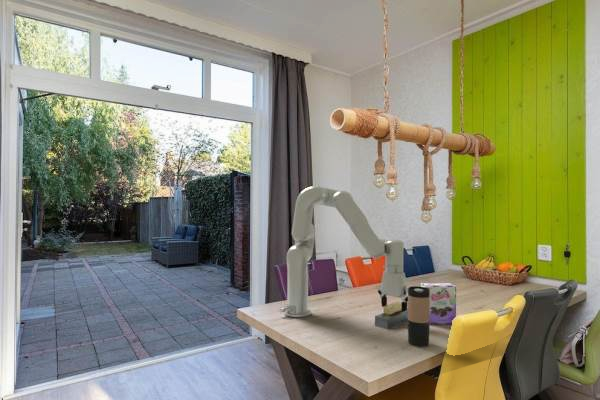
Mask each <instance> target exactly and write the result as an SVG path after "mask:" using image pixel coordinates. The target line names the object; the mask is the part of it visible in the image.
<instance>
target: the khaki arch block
mask: <svg viewBox="0 0 600 400" xmlns="http://www.w3.org/2000/svg"><path fill="white" fill-rule="evenodd" d="M394 312H398V313H401V312H402V301H395V302H392V303H389V304H387V305H386V306H384V307H383V313H385V315H387V316H394Z"/></svg>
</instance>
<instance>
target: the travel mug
mask: <svg viewBox="0 0 600 400" xmlns="http://www.w3.org/2000/svg"><path fill="white" fill-rule="evenodd" d="M407 288H408V293H407V296H408V301H407V309H408V321H407V340H408V341H407V342H408V344H409V345H410V346H412V347H417V348H426V346H427V347H429V344H430V325H431V324H430V290H429V289H428V288H425V287H420V286H417V285H416V286H415V285H413V286H408V287H407Z"/></svg>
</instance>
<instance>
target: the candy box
mask: <svg viewBox="0 0 600 400" xmlns="http://www.w3.org/2000/svg"><path fill="white" fill-rule="evenodd" d="M419 285H420V286H419V287H425V288H428V289H429V290H430V325H453V324H452V320H453V319H454V318H455V317H456V318H457V286H456V285H455V284H453V283H450V282H447V283H446V282H444V283H443V282H441V283H439V282H437V283H434V282H433V283H427V282H426V283H424V282H420V284H419Z"/></svg>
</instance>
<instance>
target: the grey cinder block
mask: <svg viewBox="0 0 600 400" xmlns="http://www.w3.org/2000/svg"><path fill="white" fill-rule="evenodd" d="M405 322H408V308H407V310H406V311H404V312H401V313H398V312H394V316H387V315H385V312H383V313H379V314H377V315H375V316H374V326H376V327H379V328H382V329H386V330H389V329H391V328H394V327H396V326H399V325H400V324H403V323H405Z"/></svg>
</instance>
